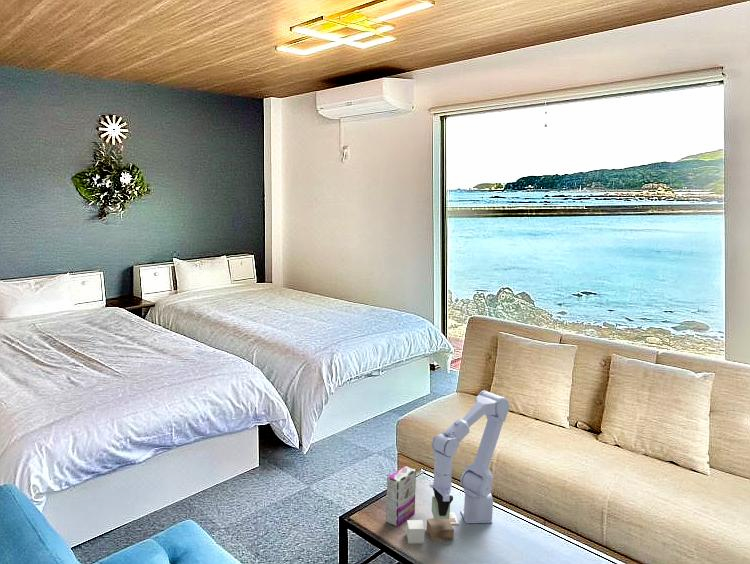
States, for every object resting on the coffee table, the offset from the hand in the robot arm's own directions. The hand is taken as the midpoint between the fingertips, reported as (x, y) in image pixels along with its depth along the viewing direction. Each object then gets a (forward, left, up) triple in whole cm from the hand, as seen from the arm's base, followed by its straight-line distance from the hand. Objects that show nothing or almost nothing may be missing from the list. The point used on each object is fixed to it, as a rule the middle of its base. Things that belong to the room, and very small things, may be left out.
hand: (440, 510), depth 181 cm
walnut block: (0, 0, -9) cm, 9 cm away
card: (-5, -9, -8) cm, 13 cm away
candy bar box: (+12, -10, -9) cm, 18 cm away
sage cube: (0, 0, -2) cm, 2 cm away
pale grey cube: (+8, +2, -8) cm, 12 cm away
